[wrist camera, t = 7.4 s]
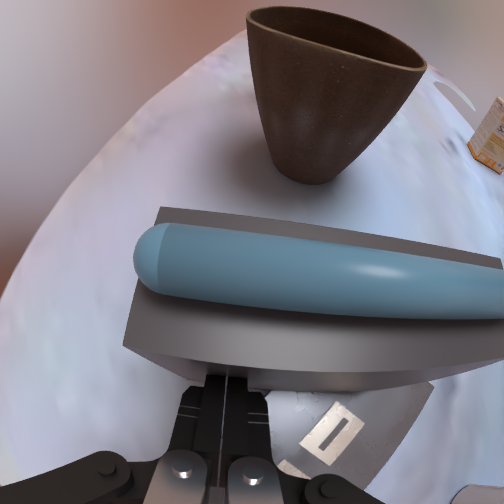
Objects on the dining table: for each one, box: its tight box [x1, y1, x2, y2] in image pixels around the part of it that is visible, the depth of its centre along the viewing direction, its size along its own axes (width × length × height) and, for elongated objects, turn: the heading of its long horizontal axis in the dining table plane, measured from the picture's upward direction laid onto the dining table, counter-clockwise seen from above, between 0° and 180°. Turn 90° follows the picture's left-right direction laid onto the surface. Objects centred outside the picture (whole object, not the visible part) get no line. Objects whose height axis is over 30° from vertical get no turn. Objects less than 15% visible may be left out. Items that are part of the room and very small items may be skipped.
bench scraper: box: [123, 207, 504, 392], centre depth 12 cm, size 15×4×14 cm, turn 85°
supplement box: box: [468, 96, 504, 174], centre depth 32 cm, size 8×5×13 cm, turn 76°
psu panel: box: [208, 381, 434, 504], centre depth 16 cm, size 18×11×2 cm, turn 137°
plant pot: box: [246, 6, 427, 184], centre depth 23 cm, size 15×15×16 cm
